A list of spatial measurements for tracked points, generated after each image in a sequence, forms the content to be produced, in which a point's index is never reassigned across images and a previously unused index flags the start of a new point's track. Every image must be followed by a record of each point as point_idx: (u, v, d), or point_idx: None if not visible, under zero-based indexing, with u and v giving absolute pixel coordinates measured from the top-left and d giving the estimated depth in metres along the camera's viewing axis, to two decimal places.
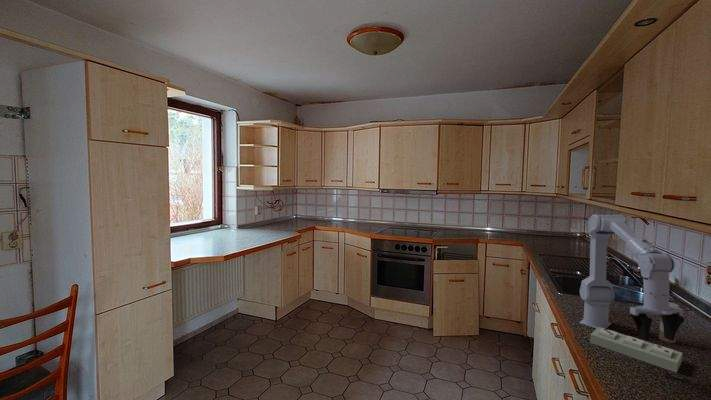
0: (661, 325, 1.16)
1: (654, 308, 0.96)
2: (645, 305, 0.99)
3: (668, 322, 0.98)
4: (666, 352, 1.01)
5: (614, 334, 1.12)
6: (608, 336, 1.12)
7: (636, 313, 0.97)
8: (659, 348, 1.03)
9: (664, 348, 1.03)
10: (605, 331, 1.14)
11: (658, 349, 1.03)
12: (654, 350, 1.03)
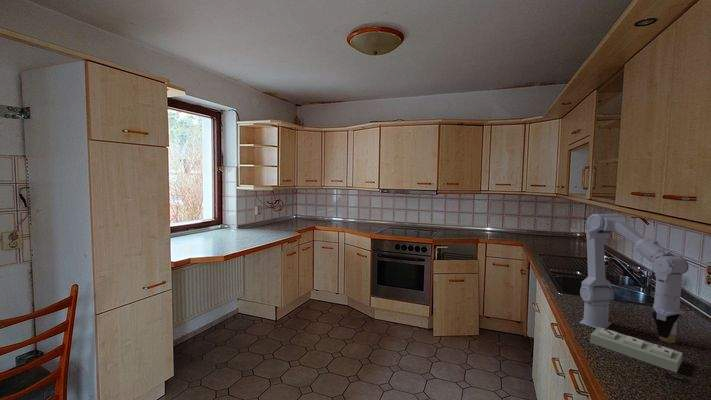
0: None
1: (672, 310, 0.99)
2: (662, 307, 1.01)
3: None
4: (666, 352, 1.01)
5: (614, 334, 1.12)
6: (608, 336, 1.12)
7: (665, 318, 0.97)
8: (659, 348, 1.03)
9: (664, 348, 1.03)
10: (605, 331, 1.14)
11: (658, 349, 1.03)
12: (654, 350, 1.03)
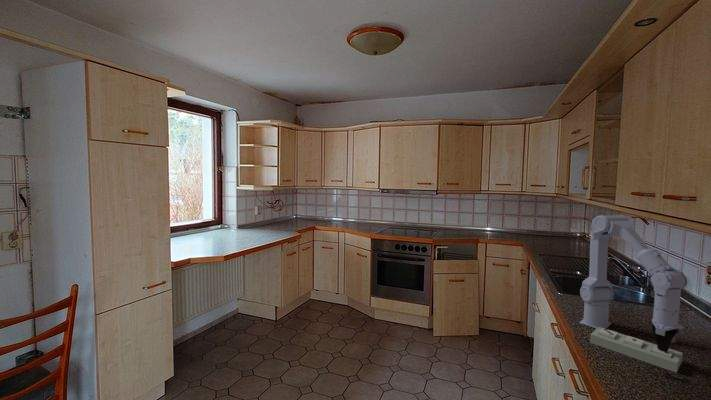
0: None
1: (671, 324, 1.00)
2: (660, 321, 1.01)
3: None
4: (666, 353, 1.01)
5: (614, 334, 1.12)
6: (608, 336, 1.12)
7: (664, 334, 0.97)
8: None
9: None
10: (605, 331, 1.14)
11: (658, 350, 1.03)
12: (654, 351, 1.03)
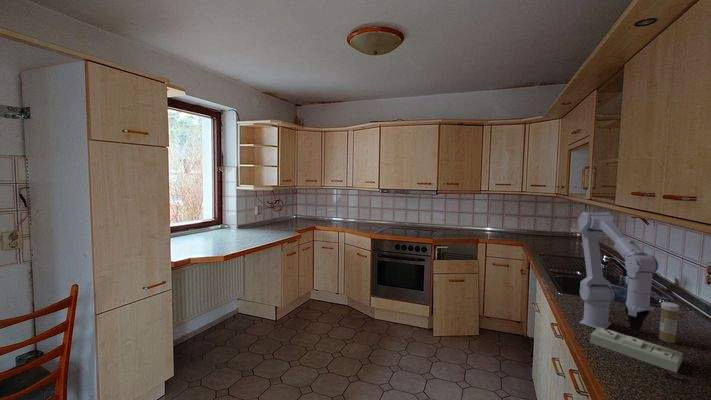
0: (661, 325, 1.16)
1: (643, 306, 1.05)
2: (633, 303, 1.06)
3: (636, 316, 1.08)
4: (666, 355, 1.01)
5: (614, 334, 1.12)
6: (608, 336, 1.12)
7: (636, 314, 1.02)
8: (659, 351, 1.04)
9: (664, 351, 1.04)
10: (605, 331, 1.14)
11: (658, 352, 1.03)
12: None
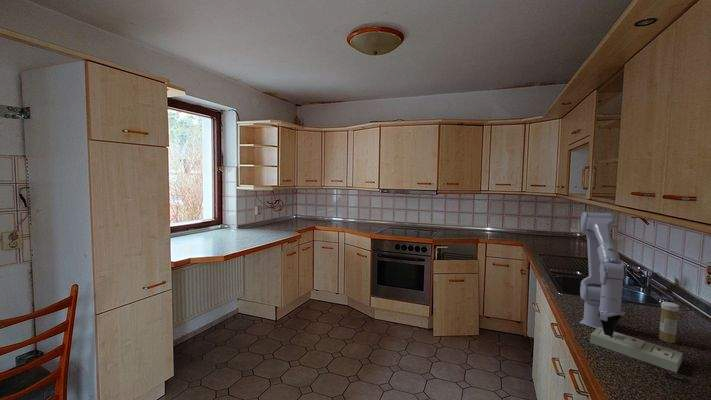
0: (661, 325, 1.16)
1: (614, 311, 1.11)
2: (605, 308, 1.12)
3: None
4: (666, 355, 1.01)
5: (614, 337, 1.12)
6: None
7: (606, 319, 1.08)
8: (659, 351, 1.04)
9: (664, 351, 1.04)
10: None
11: (658, 352, 1.03)
12: None
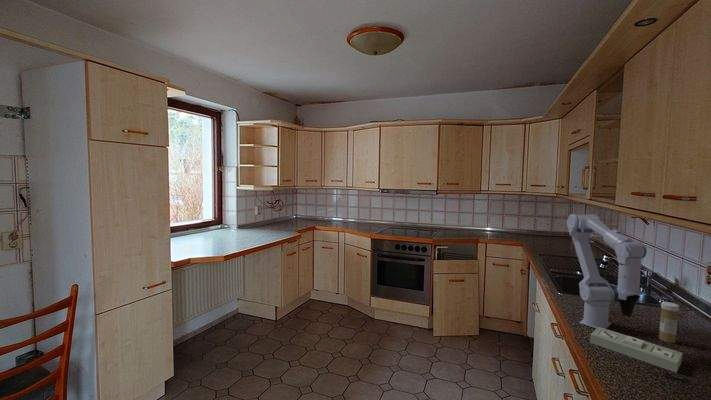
0: (661, 325, 1.16)
1: (633, 290, 1.09)
2: (623, 288, 1.11)
3: None
4: (666, 355, 1.01)
5: (614, 337, 1.12)
6: None
7: (625, 298, 1.07)
8: (659, 351, 1.04)
9: (664, 351, 1.04)
10: (605, 334, 1.15)
11: (658, 352, 1.03)
12: None
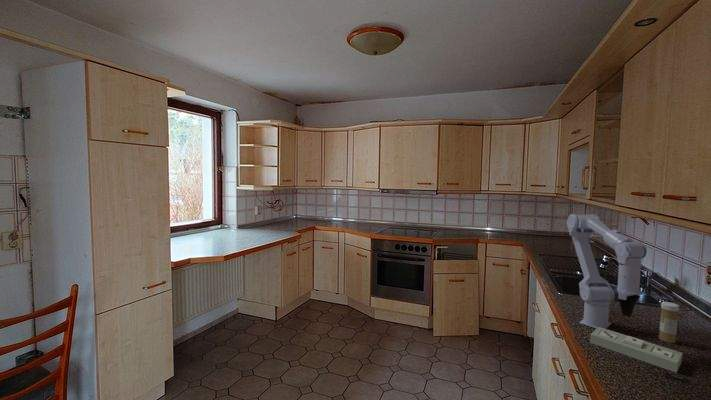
0: (661, 325, 1.16)
1: (633, 290, 1.09)
2: (623, 288, 1.11)
3: None
4: (666, 355, 1.01)
5: (614, 337, 1.12)
6: None
7: (625, 298, 1.07)
8: (659, 351, 1.04)
9: (664, 351, 1.04)
10: (605, 334, 1.15)
11: (658, 352, 1.03)
12: None
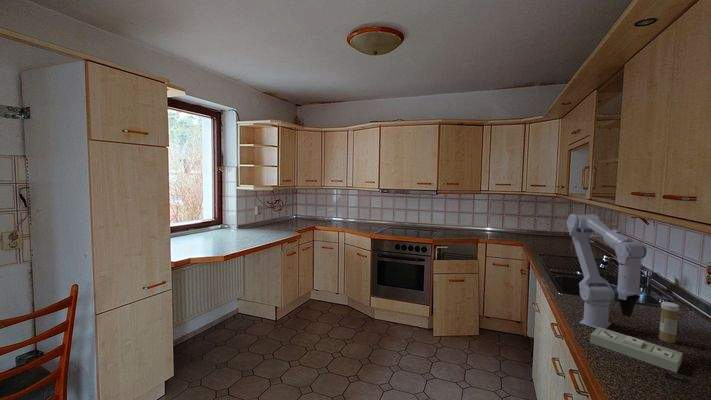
0: (661, 325, 1.16)
1: (633, 290, 1.09)
2: (623, 288, 1.11)
3: None
4: (666, 355, 1.01)
5: (614, 337, 1.12)
6: None
7: (625, 298, 1.07)
8: (659, 351, 1.04)
9: (664, 351, 1.04)
10: (605, 334, 1.15)
11: (658, 352, 1.03)
12: None
